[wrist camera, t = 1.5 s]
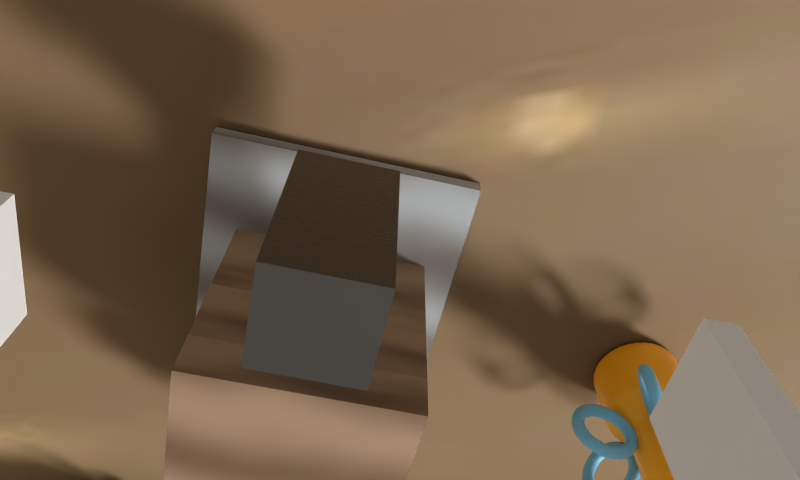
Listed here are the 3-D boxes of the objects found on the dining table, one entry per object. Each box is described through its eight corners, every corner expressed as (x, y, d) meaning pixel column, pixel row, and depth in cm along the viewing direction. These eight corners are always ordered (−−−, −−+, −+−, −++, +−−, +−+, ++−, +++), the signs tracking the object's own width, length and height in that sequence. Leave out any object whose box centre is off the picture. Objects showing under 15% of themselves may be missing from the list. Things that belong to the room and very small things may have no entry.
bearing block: (216, 127, 39) (128, 252, 27) (479, 183, 41) (507, 325, 29) (189, 416, 51) (121, 592, 39) (394, 451, 53) (388, 631, 41)
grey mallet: (298, 149, 32) (256, 261, 24) (400, 171, 33) (395, 288, 24) (242, 500, 45) (201, 655, 36) (315, 512, 46) (292, 668, 37)
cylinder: (528, 408, 50) (568, 603, 37) (581, 298, 45) (648, 480, 32) (680, 438, 52) (768, 637, 39) (747, 334, 46) (876, 524, 34)
